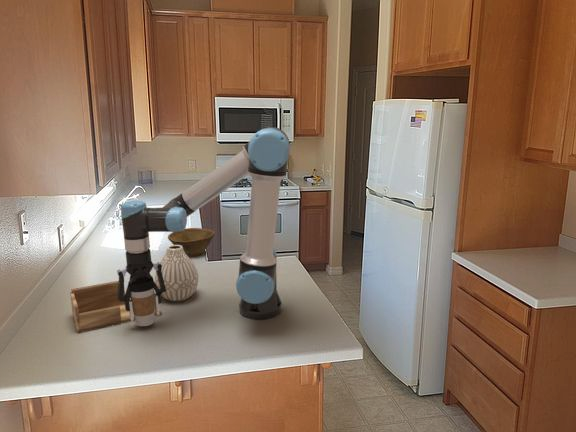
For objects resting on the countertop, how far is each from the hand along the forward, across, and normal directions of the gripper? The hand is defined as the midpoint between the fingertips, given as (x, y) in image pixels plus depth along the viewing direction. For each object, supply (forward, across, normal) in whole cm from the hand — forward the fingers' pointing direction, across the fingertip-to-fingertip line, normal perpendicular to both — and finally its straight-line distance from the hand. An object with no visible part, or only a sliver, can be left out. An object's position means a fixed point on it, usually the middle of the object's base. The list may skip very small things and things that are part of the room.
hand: (144, 316), depth 152 cm
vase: (+4, -16, -18) cm, 25 cm away
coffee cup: (+2, 0, 0) cm, 2 cm away
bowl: (+4, -38, -66) cm, 77 cm away
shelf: (+4, +6, -13) cm, 15 cm away
